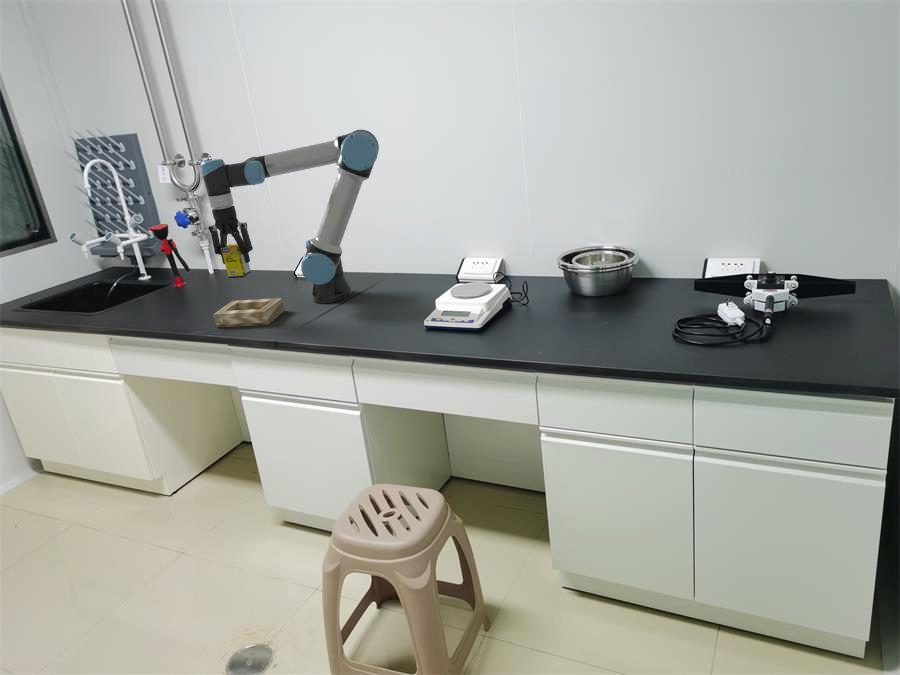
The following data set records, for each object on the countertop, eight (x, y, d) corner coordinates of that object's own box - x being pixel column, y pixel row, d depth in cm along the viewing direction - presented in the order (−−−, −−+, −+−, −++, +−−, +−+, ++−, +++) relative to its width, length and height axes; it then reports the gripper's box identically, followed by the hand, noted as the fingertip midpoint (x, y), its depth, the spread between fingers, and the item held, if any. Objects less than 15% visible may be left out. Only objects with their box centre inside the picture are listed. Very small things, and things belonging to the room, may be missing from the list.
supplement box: (244, 277, 224) (236, 247, 220) (228, 278, 225) (220, 248, 221) (251, 272, 229) (244, 242, 225) (236, 273, 230) (228, 243, 226)
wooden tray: (284, 310, 237) (281, 298, 236) (268, 325, 225) (264, 311, 223) (235, 313, 242) (232, 300, 240) (216, 327, 229) (213, 314, 227)
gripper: (253, 202, 219) (268, 267, 228) (203, 206, 223) (220, 270, 232) (242, 206, 212) (258, 273, 221) (191, 211, 217) (209, 276, 225)
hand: (239, 272), depth 227 cm, fingers closed on supplement box, 6 cm apart
